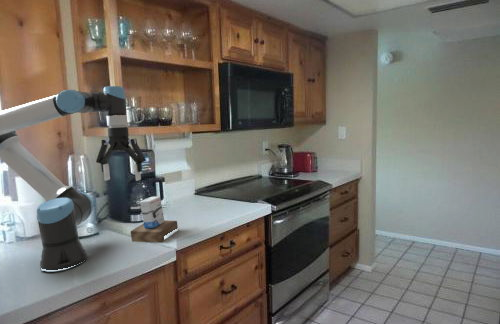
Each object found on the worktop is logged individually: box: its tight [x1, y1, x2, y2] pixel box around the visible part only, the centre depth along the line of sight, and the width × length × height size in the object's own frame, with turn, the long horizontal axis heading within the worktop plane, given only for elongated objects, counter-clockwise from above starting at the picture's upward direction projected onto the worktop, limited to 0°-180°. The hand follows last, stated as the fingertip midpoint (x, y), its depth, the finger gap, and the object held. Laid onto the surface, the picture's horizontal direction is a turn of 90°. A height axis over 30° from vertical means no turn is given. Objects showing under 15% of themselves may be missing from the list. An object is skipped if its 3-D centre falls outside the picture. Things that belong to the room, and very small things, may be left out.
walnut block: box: [130, 219, 179, 244], centre depth 146 cm, size 14×14×5 cm
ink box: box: [139, 195, 165, 228], centre depth 145 cm, size 8×5×12 cm, turn 162°
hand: (122, 180), depth 135 cm, fingers open, 13 cm apart
